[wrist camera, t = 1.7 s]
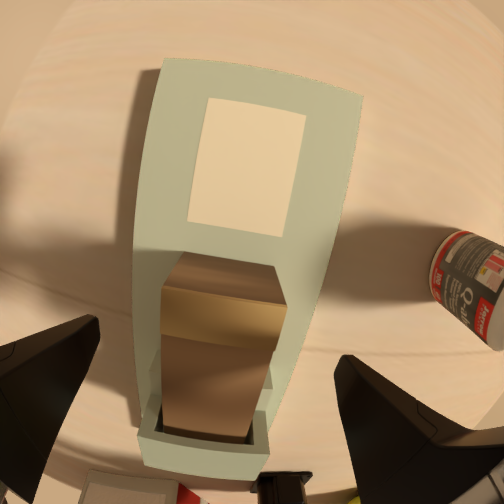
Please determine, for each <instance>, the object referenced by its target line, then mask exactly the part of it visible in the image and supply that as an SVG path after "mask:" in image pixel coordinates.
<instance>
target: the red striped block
mask: <svg viewBox="0 0 504 504" xmlns="http://www.w3.org/2000/svg"><path fill="white" fill-rule="evenodd" d="M78 504H209V503H208V502H207V501H206V500H204V499H203V498H200V497H199V496H197V495H196V494H194V493H193V492H192V491H190V490H189V489H187V488H186V487H185V486H183V485H182V484H181V483H179V482H178V481H175V480H167V479H151V478H140V477H131V476H124V475H117V474H111V473H105V472H100V471H95V470H89V472H88V475H87V478H86V481H85V484H84V487H83V489H82V492H81V495H80V499H79V502H78Z"/></svg>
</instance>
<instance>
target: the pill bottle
mask: <svg viewBox="0 0 504 504" xmlns="http://www.w3.org/2000/svg"><path fill="white" fill-rule="evenodd" d="M429 284H430V290H431V293H432V295H433V297H434V298H435V299H436V300H437V301H438V302H439V303H440V304H441V305H442V306H443V307H445V308H446V309H447V310H448V311H449V312H450V313H452V314H453V315H454V316H455V317H456V318H458V319H459V320H460V321H461V322H462V323H463V324H465V325H466V326H467V327H468V328H469V329H470V330H471V331H473V332H474V333H475V334H476V335H477V336H478V337H479V338H480V339H481V340H482V341H483V342H484V343H485V344H487V345H488V346H489V347H490V348H492V349H493V350H495V351H499V352H502V351H504V247H503V246H501V245H499V244H497V243H494V242H492V241H490V240H488V239H486V238H483V237H481V236H479V235H476V234H474V233H472V232H468V231H457V232H455V233H453V234H451V235H450V236H449V237H447V238H446V239H445V240H444V241H443V243H442V244H441V245H440V247H439V248H438V250H437V252H436V254H435V256H434V258H433V261H432V264H431V268H430V274H429Z"/></svg>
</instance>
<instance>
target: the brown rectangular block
mask: <svg viewBox="0 0 504 504" xmlns="http://www.w3.org/2000/svg"><path fill="white" fill-rule="evenodd" d="M287 309H288V307H287V304H286V301H285V297H284V294H283V291H282V288H281V285H280V282H279V279H278V276H277V273H276V270H275V267H274V266H270V265H264V264H258V263H251V262H245V261H239V260H233V259H227V258H221V257H215V256H209V255H203V254H197V253H191V252H185V251H184V252H183V254H182V255H181V257H180V258H179V260H178V262H177V263H176V265H175V266H174V268H173V270H172V271H171V273H170V274H169V276H168V278H167V279H166V281H165V282H164V284H163V286H162V287H161V306H160V334H161V388H162V410H163V425H164V433H165V434H170V435H175V436H180V437H186V438H191V439H198V440H205V441H212V442H220V443H230V444H242V445H243V444H244V441H245V438H246V435H247V433H248V430H249V427H250V424H251V421H252V418H253V415H254V412H255V409H256V406H257V403H258V400H259V397H260V394H261V391H262V388H263V385H264V381H265V378H266V375H267V372H268V369H269V365H270V362H271V359H272V355H273V352H274V351H275V350H276V347H277V344H278V340H279V337H280V333H281V330H282V327H283V323H284V320H285V316H286V312H287Z"/></svg>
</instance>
